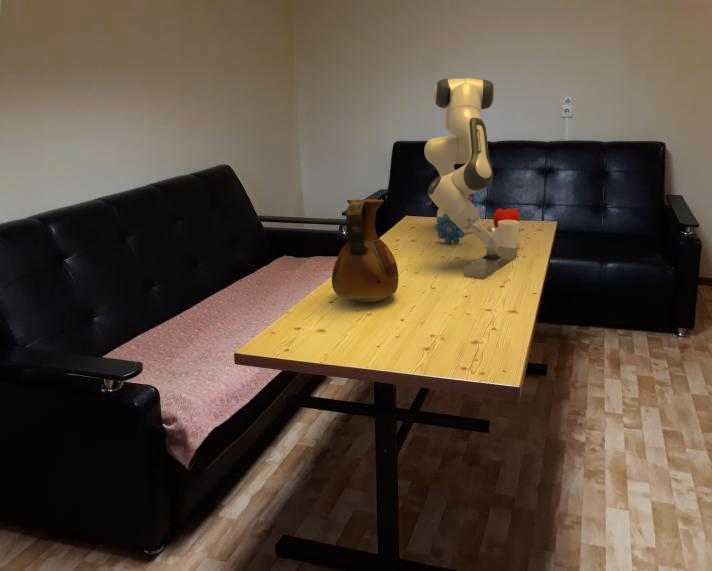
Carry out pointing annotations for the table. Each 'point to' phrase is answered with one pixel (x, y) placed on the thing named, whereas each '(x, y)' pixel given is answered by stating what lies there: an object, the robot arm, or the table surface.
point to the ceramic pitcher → (364, 257)
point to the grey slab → (489, 263)
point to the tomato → (505, 215)
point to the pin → (490, 251)
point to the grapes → (448, 229)
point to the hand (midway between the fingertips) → (494, 244)
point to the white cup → (508, 233)
